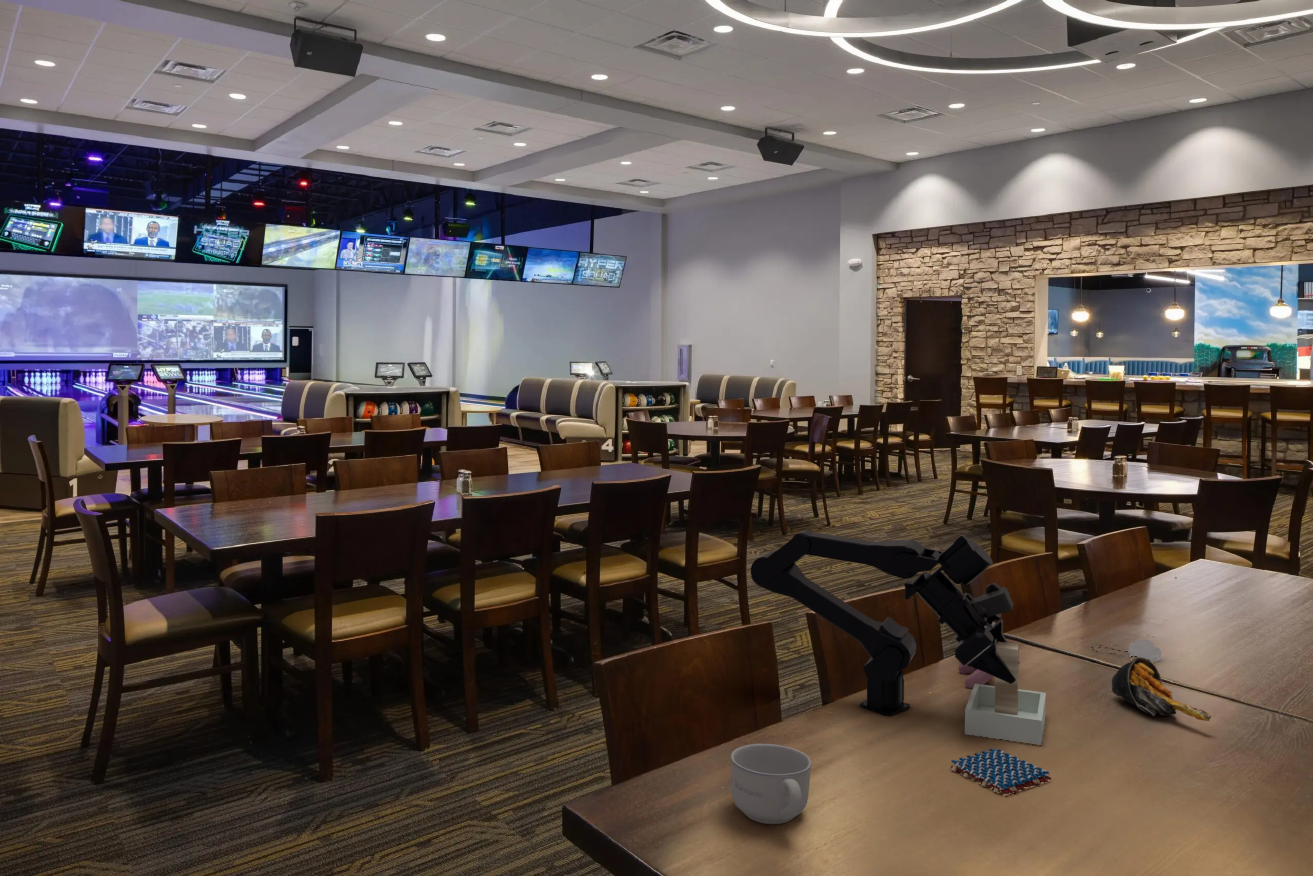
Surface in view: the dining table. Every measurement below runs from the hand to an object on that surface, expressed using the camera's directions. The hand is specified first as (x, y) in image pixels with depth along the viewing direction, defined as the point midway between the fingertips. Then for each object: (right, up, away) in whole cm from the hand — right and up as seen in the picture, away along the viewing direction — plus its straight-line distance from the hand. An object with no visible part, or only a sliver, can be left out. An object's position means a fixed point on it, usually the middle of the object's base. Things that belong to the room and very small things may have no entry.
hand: (1015, 673), depth 152 cm
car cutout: (+38, -6, +38) cm, 54 cm away
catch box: (-1, -9, +1) cm, 9 cm away
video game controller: (+2, -8, +23) cm, 24 cm away
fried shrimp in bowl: (+26, -9, +5) cm, 28 cm away
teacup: (-44, -12, -30) cm, 54 cm away
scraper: (-1, -8, +1) cm, 9 cm away
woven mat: (-9, -11, -18) cm, 23 cm away
